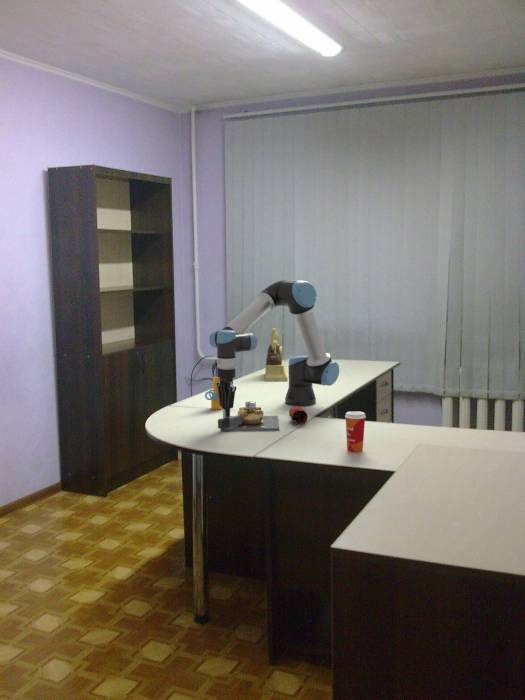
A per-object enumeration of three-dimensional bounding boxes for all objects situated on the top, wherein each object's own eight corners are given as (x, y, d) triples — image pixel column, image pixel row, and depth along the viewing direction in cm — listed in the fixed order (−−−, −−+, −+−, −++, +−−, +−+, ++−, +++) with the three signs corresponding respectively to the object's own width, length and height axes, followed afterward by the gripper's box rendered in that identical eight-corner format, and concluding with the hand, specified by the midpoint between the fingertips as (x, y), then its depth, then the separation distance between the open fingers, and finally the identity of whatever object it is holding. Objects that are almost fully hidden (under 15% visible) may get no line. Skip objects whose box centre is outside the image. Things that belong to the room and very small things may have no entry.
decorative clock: (287, 381, 414) (287, 329, 410) (265, 381, 414) (265, 329, 411) (287, 373, 442) (287, 325, 438) (266, 373, 442) (266, 325, 438)
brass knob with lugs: (249, 417, 313) (249, 405, 313) (268, 421, 306) (268, 408, 306) (210, 427, 295) (210, 414, 295) (229, 431, 288) (229, 418, 287)
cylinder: (225, 411, 332) (224, 379, 330) (203, 410, 334) (203, 379, 332) (231, 406, 343) (231, 375, 342) (210, 405, 345) (210, 374, 344)
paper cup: (342, 447, 267) (342, 411, 265) (362, 447, 268) (363, 410, 266) (346, 453, 259) (347, 415, 257) (367, 452, 260) (368, 415, 258)
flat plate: (277, 417, 318) (277, 396, 317) (279, 431, 293) (279, 408, 292) (223, 418, 318) (223, 397, 316) (220, 431, 293) (220, 408, 292)
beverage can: (303, 419, 316) (303, 404, 315) (308, 425, 304) (308, 409, 303) (287, 419, 315) (287, 404, 314) (291, 425, 303) (291, 410, 303)
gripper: (210, 366, 298) (211, 421, 301) (225, 370, 287) (225, 428, 290) (226, 365, 302) (226, 419, 305) (242, 369, 291) (241, 426, 294)
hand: (226, 423), depth 297 cm, fingers closed
